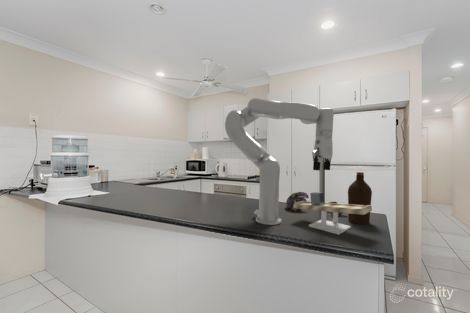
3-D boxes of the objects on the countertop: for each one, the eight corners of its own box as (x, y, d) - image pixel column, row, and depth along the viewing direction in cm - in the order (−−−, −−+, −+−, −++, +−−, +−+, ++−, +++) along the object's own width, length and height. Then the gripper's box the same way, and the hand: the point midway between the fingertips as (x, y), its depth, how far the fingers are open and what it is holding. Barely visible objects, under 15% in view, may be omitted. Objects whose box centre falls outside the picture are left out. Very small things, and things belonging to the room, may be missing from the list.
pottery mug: (326, 217, 125) (322, 202, 129) (326, 220, 133) (322, 206, 137) (350, 213, 122) (345, 198, 126) (348, 217, 130) (343, 203, 134)
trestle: (308, 226, 107) (308, 208, 107) (321, 220, 116) (322, 204, 116) (338, 234, 97) (339, 214, 97) (350, 227, 106) (351, 209, 106)
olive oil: (375, 225, 111) (377, 173, 111) (355, 225, 110) (356, 173, 110) (361, 218, 122) (363, 171, 121) (342, 218, 121) (344, 171, 120)
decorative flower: (279, 191, 144) (302, 185, 144) (283, 207, 147) (305, 201, 147) (285, 202, 130) (311, 195, 130) (289, 220, 134) (314, 213, 133)
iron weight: (311, 205, 111) (310, 193, 111) (315, 204, 114) (314, 192, 114) (320, 206, 107) (319, 193, 108) (324, 204, 111) (323, 192, 111)
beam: (293, 210, 114) (293, 203, 114) (304, 206, 122) (304, 200, 122) (363, 217, 91) (363, 208, 91) (372, 212, 98) (371, 204, 99)
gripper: (322, 132, 101) (319, 171, 102) (339, 135, 113) (337, 170, 113) (307, 133, 107) (304, 169, 107) (325, 136, 118) (323, 169, 119)
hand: (321, 170), depth 110 cm, fingers open, 9 cm apart
